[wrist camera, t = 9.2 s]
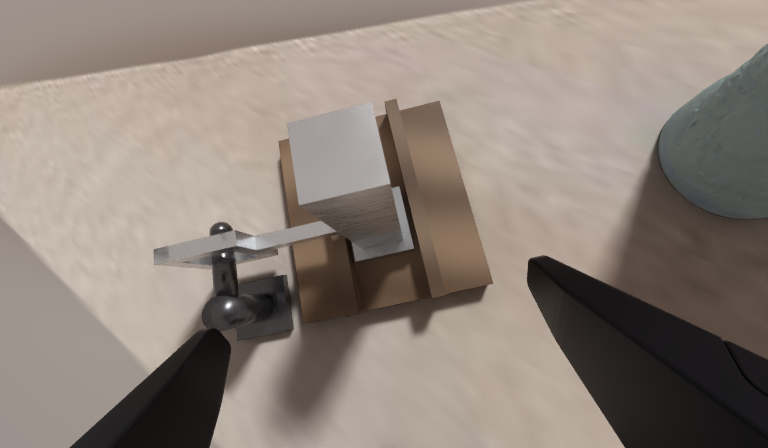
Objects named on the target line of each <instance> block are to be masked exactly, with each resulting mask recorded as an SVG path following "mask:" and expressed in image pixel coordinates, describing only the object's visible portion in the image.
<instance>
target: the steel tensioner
mask: <svg viewBox="0 0 768 448" xmlns="http://www.w3.org/2000/svg"><path fill="white" fill-rule="evenodd" d="M287 128H288V135H289V141H290V148H291V155H292V162H293V169H294V175H295V182H296V189H297V196H298V203H299V206H301V207H302V208H303V209H305V210H306V211H308V212H309V213H311V214H312V215H314V216H315V217H317V218H318V219H319V220H321V221H318V222H314V223H310V224H305V225H301V226H297V227H292V228H288V229H284V230H280V231H275V232H271V233H267V234H262V235H258V236H252V235H249V234H246V233H242V232H239V231H236V230H234V231H230V232H226V233H221V234H217V235H213V236H209V237H205V238H200V239H196V240H192V241H188V242H183V243H179V244H175V245H171V246H166V247H162V248H158V249H154V265H161V266H175V267H188V268H201V269H212V259H211V256H213V255H217V254H221V253H226V252H230V251H233V252H235V257H236V264H241V263H245V262H249V261H254V260H258V259H262V258H267V257H271V256H276V255H278V248H282V247H286V246H291V245H295V244H300V243H304V242H308V241H313V240H317V239H321V238H326V237H330V236H334V235H339V234H341V235H343V236H344V237H345V238H347V239H348V240H350V241H351V242H352V246H353V252H354V257H355V262H358V263H360V262H364V261H369V260H373V259H378V258H382V257H387V256H391V255H396V254H400V253H405V252H409V251H414V246H413V242H412V238H411V234H410V229H409V225H408V221H407V217H406V212H405V208H404V204H403V200H402V196H401V191H400V187H399V186H398V187H394V188H391V184H390V179H389V175H388V171H387V166H386V162H385V158H384V153H383V149H382V145H381V140H380V136H379V132H378V127H377V123H376V119H375V114H374V110H373V106H372V102H369V103H366V104H362V105H358V106H354V107H350V108H346V109H342V110H338V111H334V112H330V113H326V114H322V115H318V116H315V117H311V118H307V119H303V120H299V121H295V122H291V123H287Z"/></svg>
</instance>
